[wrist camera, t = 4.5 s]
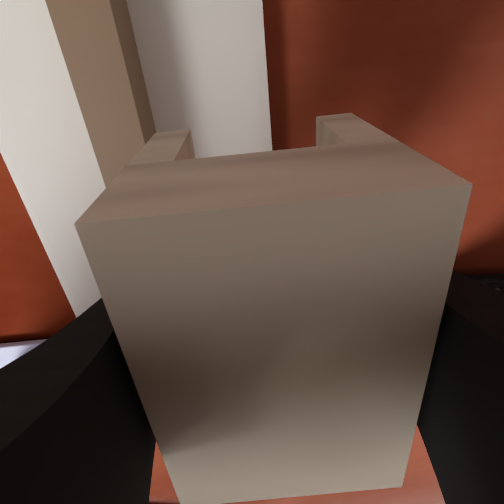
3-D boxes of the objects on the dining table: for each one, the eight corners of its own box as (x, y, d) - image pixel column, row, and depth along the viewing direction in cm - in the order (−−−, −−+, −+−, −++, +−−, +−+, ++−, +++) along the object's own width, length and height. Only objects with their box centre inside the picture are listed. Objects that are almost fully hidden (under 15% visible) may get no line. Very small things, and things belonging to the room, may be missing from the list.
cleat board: (281, 300, 22) (292, 364, 18) (88, 319, 22) (52, 387, 18) (248, -180, 12) (254, -308, 7) (-111, -135, 12) (-309, -235, 8)
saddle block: (340, 325, 14) (401, 486, 9) (200, 338, 14) (181, 507, 9) (351, 113, 10) (472, 183, 5) (155, 132, 10) (74, 224, 5)
